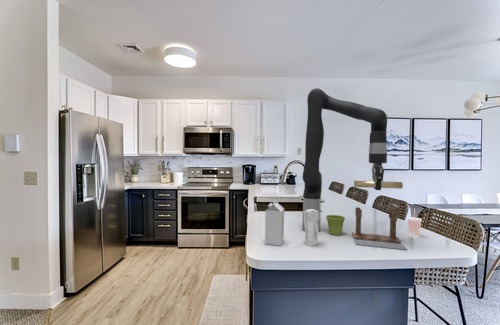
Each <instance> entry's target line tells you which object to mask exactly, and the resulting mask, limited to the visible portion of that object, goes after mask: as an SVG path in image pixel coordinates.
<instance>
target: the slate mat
mask: <svg viewBox="0 0 500 325" xmlns="http://www.w3.org/2000/svg"><path fill="white" fill-rule="evenodd" d="M353 242H354V244H355V246H362V247H372V248H379V249H380V248H381V249H390V250H398V251H399V250H400V251H408V248H407V247H406V246H405V245H404V244H402V243H401V244H397V243H387V242H377V241H367V240H357V239H353Z"/></svg>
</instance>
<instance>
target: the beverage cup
mask: <svg viewBox="0 0 500 325" xmlns="http://www.w3.org/2000/svg"><path fill="white" fill-rule="evenodd" d="M406 219H407V227H408V228H407V229H408V236H409V237H412V238H416V239H417V238H420V237H421V226H422V222H423V221H422V218H419V217H416V208H413V216H408V217H406Z"/></svg>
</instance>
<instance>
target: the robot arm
mask: <svg viewBox="0 0 500 325" xmlns="http://www.w3.org/2000/svg"><path fill="white" fill-rule="evenodd" d="M306 99H307V101H306V102H307V103H306V104H307V120H306V130H305V131H306V132H305V146H304V148H305V153H304V154H305V155H304V156H305V158H304V159H305V160H304V166H303V172H302V181H303V183H304V188H303V189H304V190H303V193H302V194H303V195H302V200H303V201H302V203H303V204H302V231H305V228H304V210H306V209H315V210H319V214H320V219H321V210H322V208H321V207H322V206H321V202H322V200H321V199H322V189H323V188H322V184H323V180H322V179H323V176H322V173H321V171H320V159H321V158H320V157H321V155H322V151H323V147H324V137H325V136H324V135H325V129H324V123H323V118H322V116H323V115H322V112H323V110H327V111H331V112H336V113H338V114H342V115H344V116H346V117H349V118H352V119H355V120H359V121H364V122H367V123H370V134H369V146H368V163H369V164H373V166H372V167H371V174H372V176H371V177H372V181H376V186H375V188H373V189H374V190H376V191H381V190H382V188H381V182H382V181H383V182H384V174H385V169H384V167H383V164H387V162H388V147H387V130H388V127H387V126H388V115H387V114H386V112H385V111H384V110H382V109H379V108H377V107H376V108H375V107H370V106H366V105H363V104H360V103H356V102H352V101H348V100H341V99H337V98H335V97H332V96H330V95H329V94H327V93H326V92H325V91H323V90H322V89H320V88H317V87H315V88H313V89H311V90H310V91H309V93H308V95H307V98H306ZM318 232H321V223H320V224H319V230H318Z"/></svg>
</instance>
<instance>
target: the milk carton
mask: <svg viewBox="0 0 500 325" xmlns="http://www.w3.org/2000/svg"><path fill="white" fill-rule="evenodd" d="M267 207H268V208H267V209H265V218H264V220H265V221H264V222H265V223H264V224H265V226H264V244H265V245H270V246H277V247H278V246H282V245H283V243H284V241H285V240H284V239H285V238H284V237H285V235H284V234H285V208H284V207H283V206H282V205H281V204H279V202H278V200H277V199H276V200H274V201H273V202H270V203H269V204H268V205H267Z"/></svg>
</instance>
